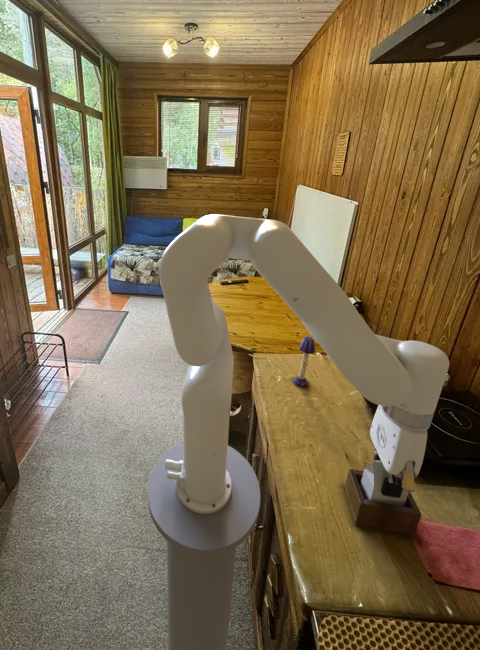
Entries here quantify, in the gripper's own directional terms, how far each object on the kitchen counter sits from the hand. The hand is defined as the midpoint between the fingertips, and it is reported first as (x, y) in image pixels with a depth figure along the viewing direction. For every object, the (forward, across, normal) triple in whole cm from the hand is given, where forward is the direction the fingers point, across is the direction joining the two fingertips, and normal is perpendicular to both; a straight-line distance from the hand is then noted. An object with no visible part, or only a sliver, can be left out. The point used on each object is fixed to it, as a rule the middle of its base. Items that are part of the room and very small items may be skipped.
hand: (385, 482), depth 61 cm
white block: (+5, 0, 0) cm, 5 cm away
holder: (+8, 0, 0) cm, 8 cm away
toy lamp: (+8, -39, -9) cm, 41 cm away
